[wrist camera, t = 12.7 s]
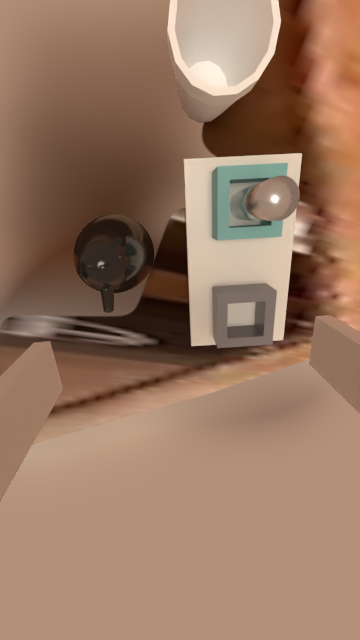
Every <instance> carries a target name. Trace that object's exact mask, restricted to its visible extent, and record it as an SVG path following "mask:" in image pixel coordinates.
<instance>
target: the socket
mask: <svg viewBox="0 0 360 640" xmlns="http://www.w3.org/2000/svg"><path fill="white" fill-rule="evenodd" d="M287 169H288V163H273V164H254V165H234V166H217V167H216V168H215V169H214V170H213V171H212V238H213V239H215V240H217V241H218V240H235V239H252V238H270V237H282V227H283V220H280V221H266V220H260V225H242V226H229V190H230V183H248V182H263V181H265V180H268V179H270V178H273V177H276V176H281V175H284V176H287Z"/></svg>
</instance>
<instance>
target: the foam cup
mask: <svg viewBox="0 0 360 640" xmlns="http://www.w3.org/2000/svg"><path fill="white" fill-rule="evenodd" d="M280 23H281V18H280V10H279V3H278V0H170V9H169V19H168V30H167V32H168V33H167V47H168V52H169V56H170V60H171V63H172V67H173V71H174V75H175V77H176V81H177V87H178V92H179V96H180V100H181V104H182V108H183V109H184V111H185V112H186V113H187V114H188V116H189V117H190V118H191V119H194V120H196V121H198V122H210V121H212V120H213V119H215V118H216V117H218V116H219V115H221V114H222V113H223V112H224V111H225V110H226V109H227V108H229V107H230V106H231V105H232V104H233V103H234V102H235V101H237V100H238V99H240V98H241V97H242V96H244V95H245V94H247V93H248V92H250V91H251V90H252V88H253V87H254V85H255V84H256V82H257V81H258V79H259V78H260V76H261V74H262V73H263V71H264V70H265V68H266V66H267V65H268V63H269V61H270V60H271V58H272V56H273V55H274V52H275V47H276V42H277V38H278V33H279V28H280Z"/></svg>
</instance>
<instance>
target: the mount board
mask: <svg viewBox="0 0 360 640" xmlns="http://www.w3.org/2000/svg"><path fill="white" fill-rule="evenodd" d="M301 159H302V153H296V154H276V155H256V156H236V157H216V158H196V159H184V161H183V164H184V165H183V166H184V190H185V216H186V240H187V265H188V290H189V314H190V339H191V346H202V345H216V346H217V348H226V347H240V346H255V345H270V344H272V343H273V341H275V340H283V336H284V326H285V316H286V306H287V296H288V286H289V277H290V267H291V257H292V247H293V237H294V228H295V218H296V209H295V211H294V212H293V213H292V214H291V215H290V216H289V217H287V218H286V219H283V227H282V237H270V238H252V239H235V240H218V241H217V240H215V239H213V238H212V171H213V170H214V169H215V168H216V167H217V166H234V165H254V164H273V163H288V169H287V176H288V177H290V178H292V179H293V180H294V181H295V182H296V183H297V185H298V188H299V178H300V169H301ZM257 183H260V182H248V183H230V190H229V226H242V225H260V220H239V219H237V218H235V217H234V216H233V215H232V213H231V211H230V201H231V198H232V196H233V195H234V194H235V193H236V192H237V191H239V190H242V189H244V188H247V187H250V186H252V185H255V184H257Z"/></svg>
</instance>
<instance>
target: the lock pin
mask: <svg viewBox="0 0 360 640" xmlns="http://www.w3.org/2000/svg"><path fill="white" fill-rule="evenodd" d="M299 198H300V192H299V188H298V185H297V183H296V182H295V181H294V180H293V179H292V178H290V177H288V176H284V175H281V176H276V177H273V178H270V179H268V180H265V181H263V182H260V183H257V184H255V185H252V186H250V187H247V188H244V189H242V190H239V191H237V192H236V193H235V194H234V195H233V196H232V198H231V201H230V211H231V213H232V215H233V216H234V217H235V218H237V219H239V220H266V221H280V220H283V219H286V218H287V217H289V216H290V215H291V214H292V213H293V212H294V211H295V209H296V208H297V206H298V203H299Z"/></svg>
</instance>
